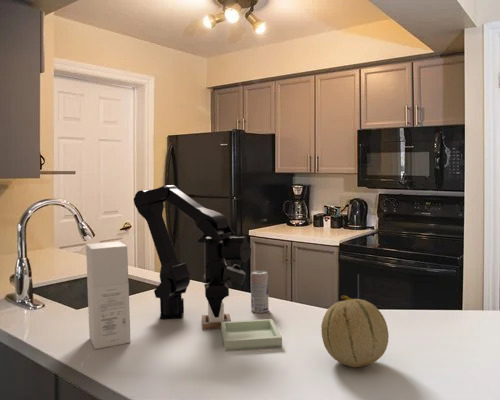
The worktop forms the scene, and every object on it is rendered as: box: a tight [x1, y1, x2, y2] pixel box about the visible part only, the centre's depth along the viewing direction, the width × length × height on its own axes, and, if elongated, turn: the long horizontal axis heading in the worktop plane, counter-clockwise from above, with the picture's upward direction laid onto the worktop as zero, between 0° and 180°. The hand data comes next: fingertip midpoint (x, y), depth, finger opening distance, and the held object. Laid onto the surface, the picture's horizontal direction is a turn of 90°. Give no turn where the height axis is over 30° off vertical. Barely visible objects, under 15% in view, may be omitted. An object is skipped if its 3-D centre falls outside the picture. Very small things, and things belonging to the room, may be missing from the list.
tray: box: [220, 318, 283, 352], centre depth 118 cm, size 14×14×2 cm
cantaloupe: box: [320, 294, 390, 368], centre depth 102 cm, size 15×15×15 cm
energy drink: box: [250, 270, 269, 314], centre depth 141 cm, size 5×5×12 cm
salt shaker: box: [207, 301, 225, 323], centre depth 130 cm, size 4×4×10 cm
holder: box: [201, 313, 232, 331], centre depth 130 cm, size 8×8×2 cm
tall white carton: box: [85, 241, 131, 350], centre depth 118 cm, size 9×9×25 cm
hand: (216, 313), depth 130 cm, fingers open, 6 cm apart
